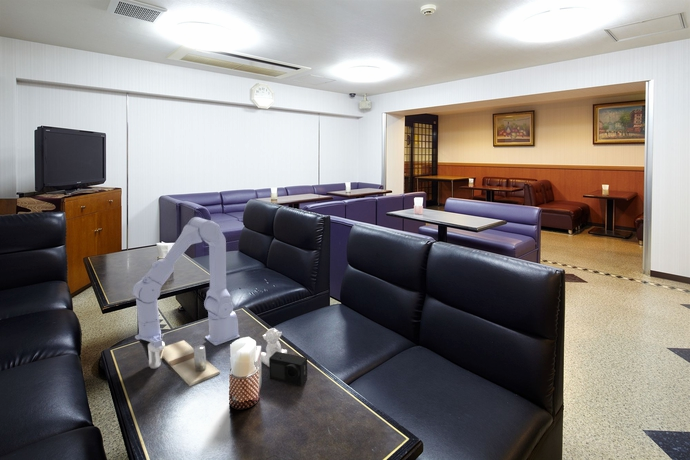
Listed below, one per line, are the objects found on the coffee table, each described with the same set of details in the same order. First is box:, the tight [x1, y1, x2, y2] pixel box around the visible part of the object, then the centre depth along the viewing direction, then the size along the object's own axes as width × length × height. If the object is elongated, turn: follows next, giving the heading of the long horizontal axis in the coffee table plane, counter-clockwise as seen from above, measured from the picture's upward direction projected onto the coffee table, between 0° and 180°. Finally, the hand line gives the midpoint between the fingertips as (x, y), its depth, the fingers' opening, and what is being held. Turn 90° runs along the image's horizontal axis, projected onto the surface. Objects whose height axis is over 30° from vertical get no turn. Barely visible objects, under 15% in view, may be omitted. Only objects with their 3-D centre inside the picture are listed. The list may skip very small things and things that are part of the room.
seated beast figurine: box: [261, 327, 288, 368], centre depth 119 cm, size 10×9×12 cm
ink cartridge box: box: [253, 345, 263, 401], centre depth 104 cm, size 9×5×15 cm, turn 5°
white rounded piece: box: [148, 333, 166, 369], centre depth 115 cm, size 4×5×10 cm
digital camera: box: [268, 351, 308, 387], centre depth 110 cm, size 10×5×7 cm, turn 71°
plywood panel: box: [162, 340, 220, 387], centre depth 119 cm, size 9×26×1 cm, turn 45°
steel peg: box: [193, 344, 207, 372], centre depth 114 cm, size 3×3×7 cm
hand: (152, 359), depth 118 cm, fingers closed
